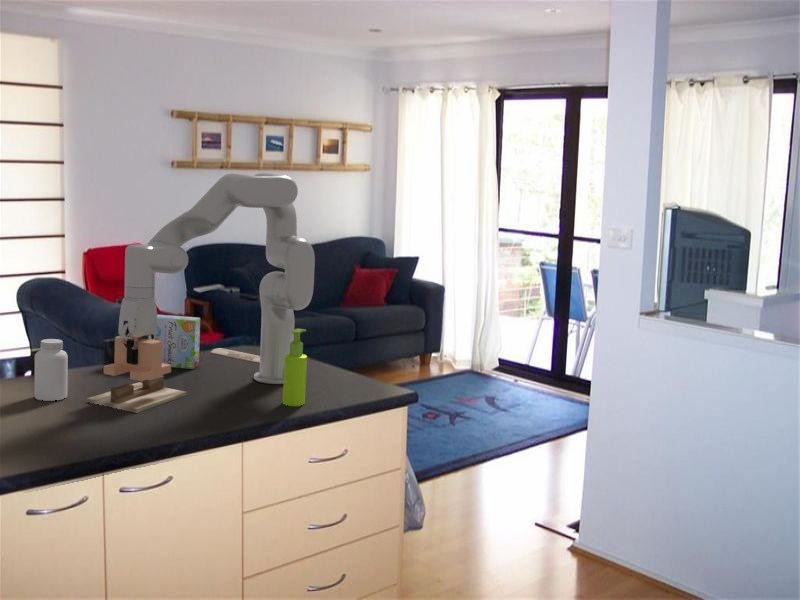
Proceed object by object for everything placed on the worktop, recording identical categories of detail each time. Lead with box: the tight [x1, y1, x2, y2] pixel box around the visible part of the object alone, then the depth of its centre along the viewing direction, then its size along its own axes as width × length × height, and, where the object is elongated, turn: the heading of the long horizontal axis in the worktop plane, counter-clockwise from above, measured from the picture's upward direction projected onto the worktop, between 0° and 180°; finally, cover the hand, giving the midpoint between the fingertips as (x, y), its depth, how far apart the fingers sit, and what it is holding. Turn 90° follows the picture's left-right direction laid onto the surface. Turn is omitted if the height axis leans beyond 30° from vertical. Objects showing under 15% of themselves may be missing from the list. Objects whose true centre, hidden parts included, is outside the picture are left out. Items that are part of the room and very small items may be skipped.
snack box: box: [153, 314, 201, 370], centre depth 277 cm, size 21×6×15 cm, turn 84°
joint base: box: [86, 375, 188, 414], centre depth 241 cm, size 16×20×4 cm
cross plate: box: [103, 335, 172, 382], centre depth 239 cm, size 12×12×9 cm
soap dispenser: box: [282, 328, 308, 407], centre depth 245 cm, size 6×7×20 cm
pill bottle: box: [34, 338, 69, 402], centre depth 236 cm, size 8×8×15 cm
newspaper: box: [210, 347, 260, 364], centre depth 293 cm, size 24×7×2 cm, turn 62°
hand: (138, 361), depth 239 cm, fingers closed on cross plate, 4 cm apart
